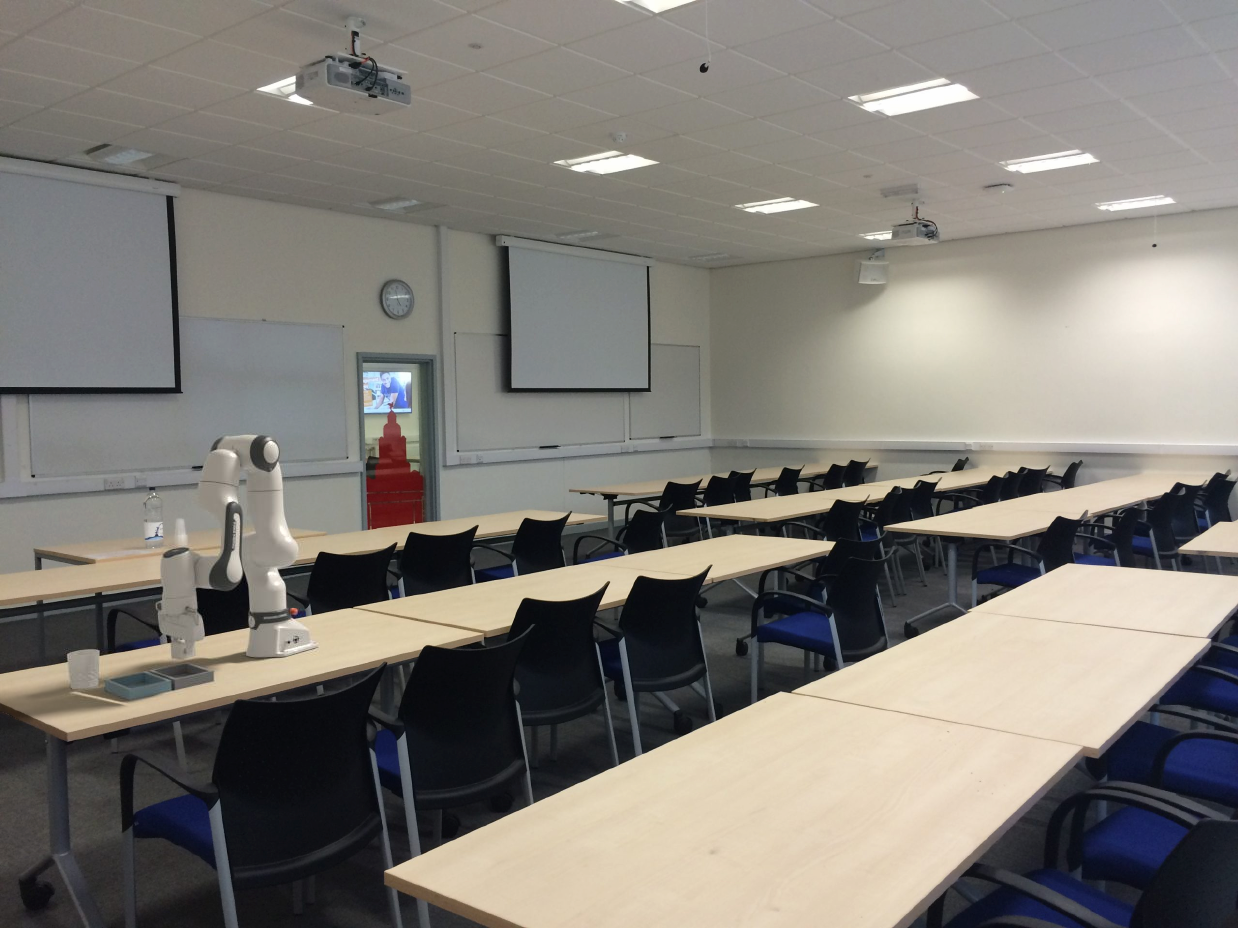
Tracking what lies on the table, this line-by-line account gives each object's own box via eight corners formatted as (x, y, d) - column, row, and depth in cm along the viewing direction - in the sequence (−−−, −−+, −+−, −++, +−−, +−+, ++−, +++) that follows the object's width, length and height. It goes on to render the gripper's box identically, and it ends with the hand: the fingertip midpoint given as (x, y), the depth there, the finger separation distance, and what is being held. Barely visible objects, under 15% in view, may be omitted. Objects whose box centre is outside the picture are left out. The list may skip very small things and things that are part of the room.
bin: (145, 683, 262) (145, 671, 262) (171, 692, 252) (171, 680, 252) (105, 692, 254) (104, 679, 254) (129, 702, 244) (129, 689, 243)
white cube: (185, 654, 266) (184, 638, 265) (195, 655, 263) (194, 640, 263) (171, 658, 262) (170, 642, 261) (181, 659, 260) (180, 644, 259)
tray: (187, 673, 272) (187, 662, 271) (214, 682, 261) (213, 670, 261) (149, 682, 263) (149, 670, 263) (175, 691, 253) (174, 679, 253)
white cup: (64, 692, 254) (63, 657, 254) (73, 684, 262) (72, 650, 261) (96, 689, 256) (94, 654, 256) (104, 682, 264) (102, 648, 263)
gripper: (208, 607, 257) (211, 655, 258) (174, 598, 270) (177, 644, 271) (186, 611, 253) (189, 660, 254) (152, 603, 265) (156, 649, 266)
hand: (183, 652), depth 263 cm, fingers closed on white cube, 5 cm apart
